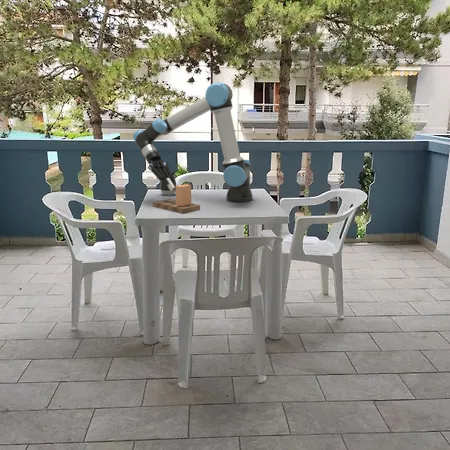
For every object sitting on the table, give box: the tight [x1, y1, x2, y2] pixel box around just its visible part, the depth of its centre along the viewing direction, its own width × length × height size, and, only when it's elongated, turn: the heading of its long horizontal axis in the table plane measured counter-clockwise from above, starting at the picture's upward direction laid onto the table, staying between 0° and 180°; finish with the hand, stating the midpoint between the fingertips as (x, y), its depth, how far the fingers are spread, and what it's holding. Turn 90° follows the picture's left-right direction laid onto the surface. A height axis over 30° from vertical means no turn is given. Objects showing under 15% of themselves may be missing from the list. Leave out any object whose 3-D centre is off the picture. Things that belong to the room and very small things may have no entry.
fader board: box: [152, 198, 201, 215], centre depth 235 cm, size 24×12×3 cm, turn 47°
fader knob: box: [175, 184, 192, 206], centre depth 229 cm, size 4×7×10 cm, turn 137°
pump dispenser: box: [159, 170, 178, 197], centre depth 268 cm, size 10×10×15 cm
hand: (172, 188), depth 234 cm, fingers closed
